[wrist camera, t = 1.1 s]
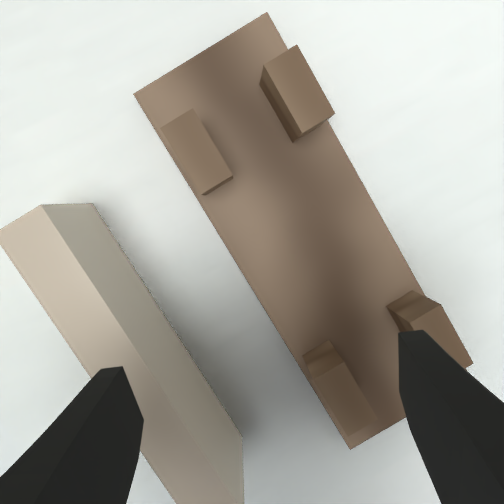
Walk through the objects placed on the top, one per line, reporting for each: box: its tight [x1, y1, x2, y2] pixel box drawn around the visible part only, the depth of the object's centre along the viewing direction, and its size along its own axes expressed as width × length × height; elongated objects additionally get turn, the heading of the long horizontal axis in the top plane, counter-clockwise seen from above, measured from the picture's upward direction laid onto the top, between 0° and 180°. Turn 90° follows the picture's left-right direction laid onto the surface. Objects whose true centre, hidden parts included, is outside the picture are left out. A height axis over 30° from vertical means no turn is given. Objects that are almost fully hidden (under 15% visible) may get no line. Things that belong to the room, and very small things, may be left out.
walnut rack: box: [133, 12, 473, 450], centre depth 20 cm, size 7×20×4 cm, turn 31°
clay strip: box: [0, 203, 244, 504], centre depth 20 cm, size 2×14×6 cm, turn 31°
